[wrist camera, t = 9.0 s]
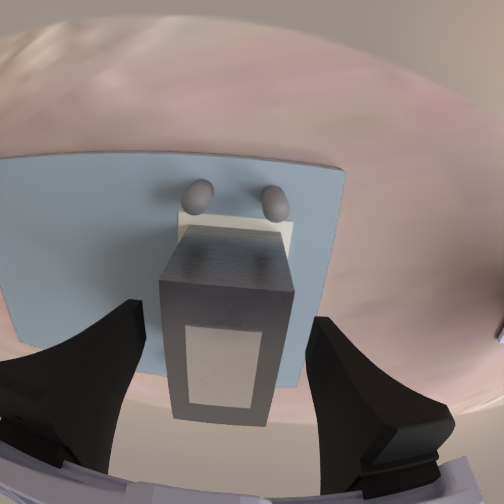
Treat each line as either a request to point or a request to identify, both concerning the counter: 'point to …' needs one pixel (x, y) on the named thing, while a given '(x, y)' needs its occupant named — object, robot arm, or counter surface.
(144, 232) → the pin tray
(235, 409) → the block
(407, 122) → the counter surface
